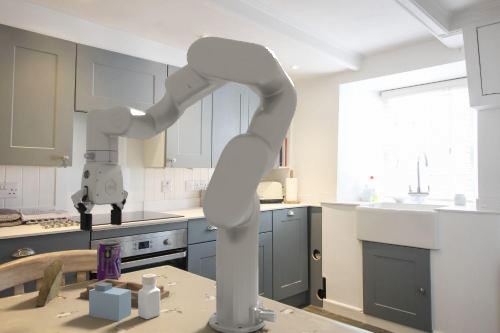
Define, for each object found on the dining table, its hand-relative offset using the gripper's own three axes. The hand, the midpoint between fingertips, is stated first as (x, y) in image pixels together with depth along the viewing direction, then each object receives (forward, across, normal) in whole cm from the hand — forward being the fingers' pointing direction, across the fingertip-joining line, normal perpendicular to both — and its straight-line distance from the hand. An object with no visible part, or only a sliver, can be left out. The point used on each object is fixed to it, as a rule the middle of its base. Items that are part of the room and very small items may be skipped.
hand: (101, 227), depth 90 cm
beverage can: (+20, +21, +18) cm, 34 cm away
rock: (+21, 0, +19) cm, 28 cm away
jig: (+20, +10, +1) cm, 23 cm away
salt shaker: (+20, +1, -14) cm, 25 cm away
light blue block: (+20, -2, -5) cm, 21 cm away
